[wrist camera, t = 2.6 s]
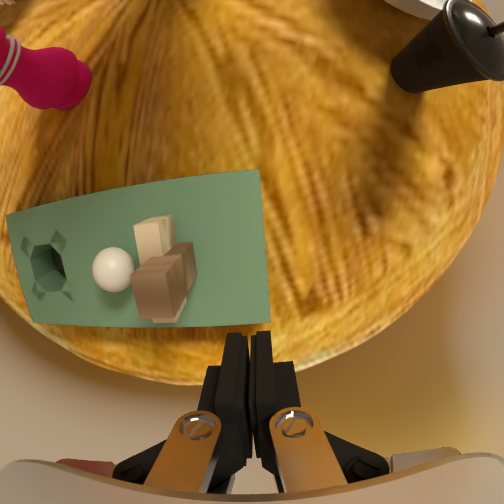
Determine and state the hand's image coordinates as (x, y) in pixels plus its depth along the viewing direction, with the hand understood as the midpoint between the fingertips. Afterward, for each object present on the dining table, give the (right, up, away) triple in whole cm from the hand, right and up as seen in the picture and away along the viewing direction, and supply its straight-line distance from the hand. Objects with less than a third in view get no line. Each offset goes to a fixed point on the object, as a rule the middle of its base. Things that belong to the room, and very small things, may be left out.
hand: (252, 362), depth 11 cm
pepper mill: (-22, +24, +14) cm, 35 cm away
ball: (-12, +3, +13) cm, 18 cm away
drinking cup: (+18, +24, +13) cm, 33 cm away
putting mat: (-14, +4, +19) cm, 24 cm away
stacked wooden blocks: (-7, +4, +14) cm, 16 cm away
